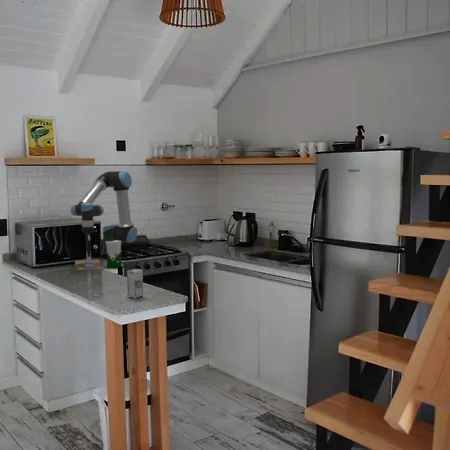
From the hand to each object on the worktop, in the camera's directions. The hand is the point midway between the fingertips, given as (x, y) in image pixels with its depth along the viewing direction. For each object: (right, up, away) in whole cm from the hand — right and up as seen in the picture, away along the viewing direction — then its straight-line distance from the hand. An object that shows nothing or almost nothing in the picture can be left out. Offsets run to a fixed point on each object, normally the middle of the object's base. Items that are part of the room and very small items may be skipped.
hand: (88, 261), depth 367 cm
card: (+1, -4, -2) cm, 5 cm away
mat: (+1, -5, -2) cm, 5 cm away
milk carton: (+17, -4, +1) cm, 17 cm away
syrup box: (+45, -14, -83) cm, 95 cm away
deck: (-3, -4, +8) cm, 9 cm away
